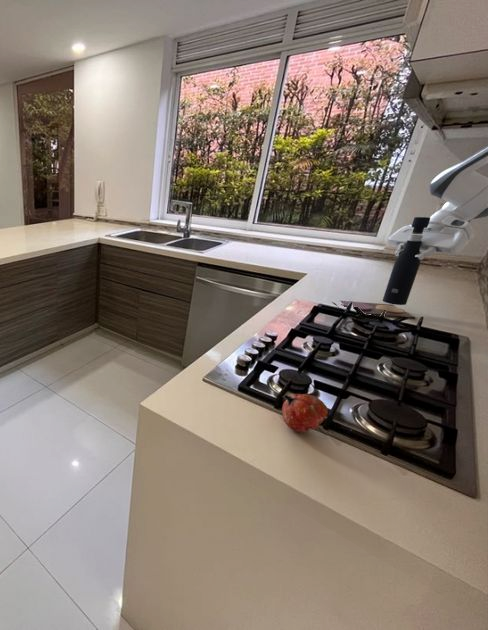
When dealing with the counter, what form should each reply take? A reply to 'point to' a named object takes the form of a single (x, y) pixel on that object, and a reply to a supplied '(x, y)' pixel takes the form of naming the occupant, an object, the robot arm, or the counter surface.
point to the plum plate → (358, 305)
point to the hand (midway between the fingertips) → (407, 256)
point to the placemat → (387, 310)
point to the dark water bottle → (406, 266)
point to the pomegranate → (303, 412)
